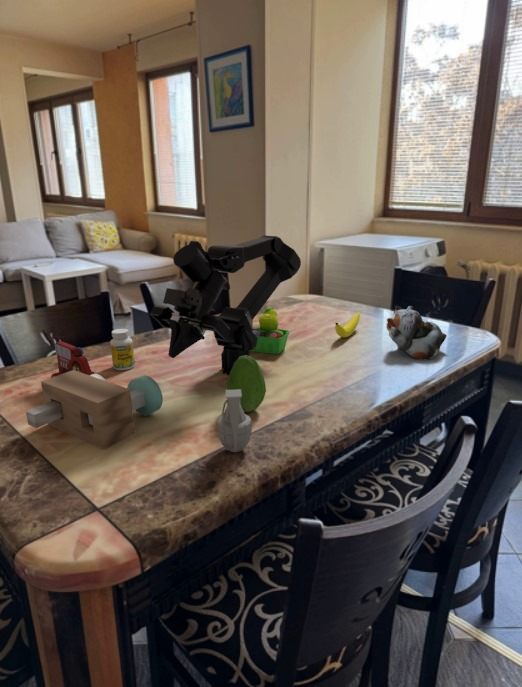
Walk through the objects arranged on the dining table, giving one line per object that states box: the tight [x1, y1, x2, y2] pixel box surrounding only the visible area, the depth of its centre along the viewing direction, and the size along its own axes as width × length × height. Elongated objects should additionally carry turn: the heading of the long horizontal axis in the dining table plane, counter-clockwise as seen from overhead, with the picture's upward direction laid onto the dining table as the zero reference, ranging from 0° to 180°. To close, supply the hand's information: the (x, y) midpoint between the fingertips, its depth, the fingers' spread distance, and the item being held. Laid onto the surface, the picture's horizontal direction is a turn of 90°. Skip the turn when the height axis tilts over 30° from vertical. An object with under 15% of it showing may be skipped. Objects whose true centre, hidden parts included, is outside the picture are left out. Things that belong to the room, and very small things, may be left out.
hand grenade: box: [216, 389, 253, 453], centre depth 84 cm, size 6×6×11 cm
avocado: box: [225, 355, 267, 413], centre depth 99 cm, size 8×8×12 cm
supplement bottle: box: [109, 328, 136, 371], centre depth 124 cm, size 5×5×10 cm
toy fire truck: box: [50, 341, 97, 378], centre depth 111 cm, size 7×12×10 cm, turn 49°
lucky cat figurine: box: [385, 305, 447, 361], centre depth 132 cm, size 15×12×14 cm
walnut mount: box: [25, 370, 136, 451], centre depth 92 cm, size 15×17×9 cm
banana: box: [334, 311, 361, 339], centre depth 147 cm, size 3×19×6 cm, turn 150°
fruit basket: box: [251, 306, 290, 355], centre depth 135 cm, size 11×9×11 cm
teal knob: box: [88, 374, 164, 425], centre depth 94 cm, size 13×8×8 cm, turn 144°
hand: (170, 356), depth 102 cm, fingers closed
